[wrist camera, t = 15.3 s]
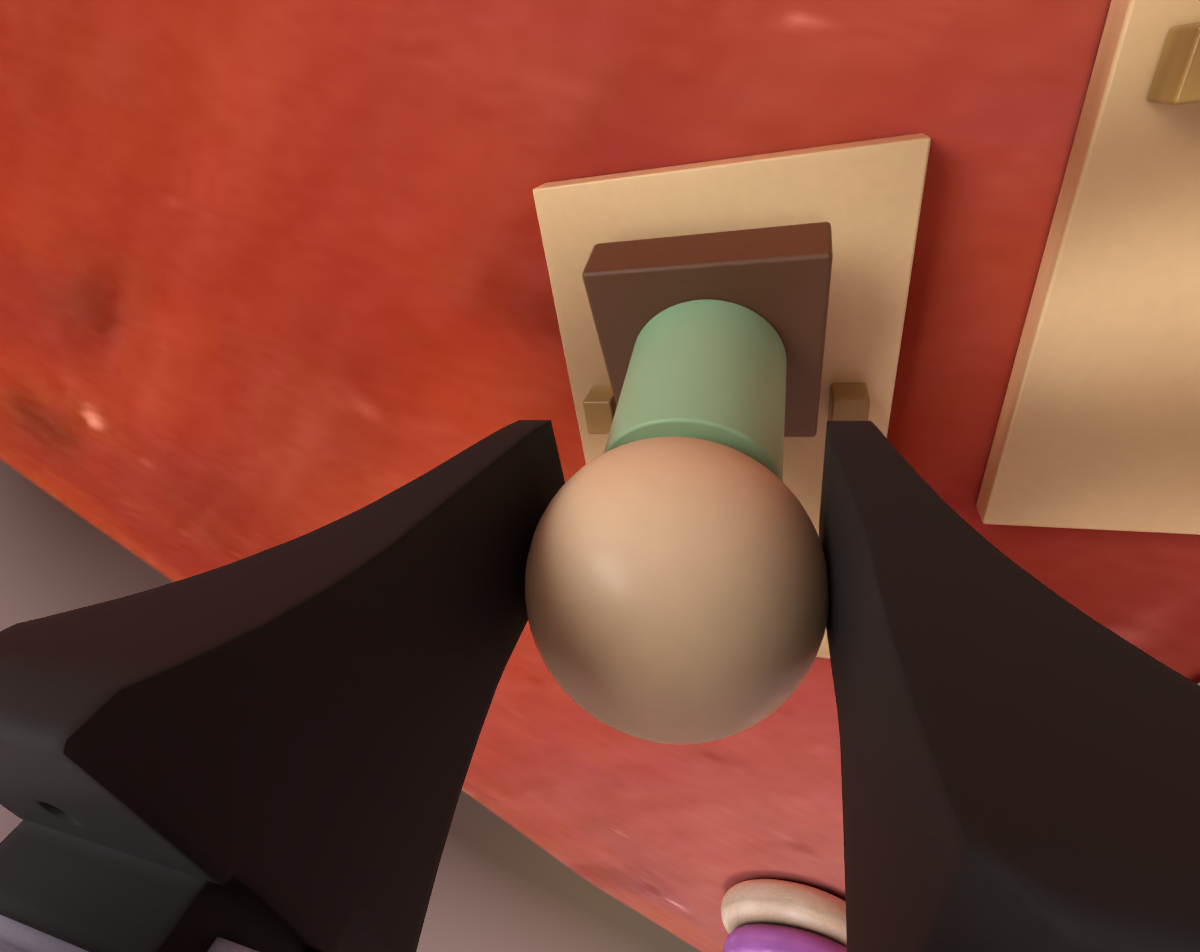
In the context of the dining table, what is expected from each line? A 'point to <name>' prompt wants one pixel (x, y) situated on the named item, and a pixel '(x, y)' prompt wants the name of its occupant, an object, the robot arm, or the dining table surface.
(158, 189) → the dining table surface
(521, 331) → the dining table surface
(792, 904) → the stacking toy
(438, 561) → the robot arm
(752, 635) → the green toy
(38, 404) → the dining table surface
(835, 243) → the thin cream rectangular board
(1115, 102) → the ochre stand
